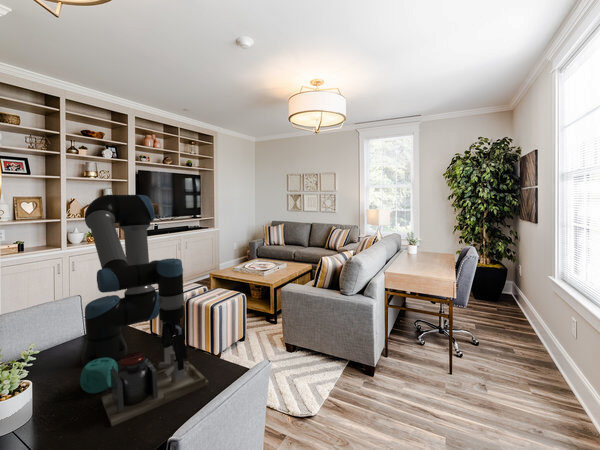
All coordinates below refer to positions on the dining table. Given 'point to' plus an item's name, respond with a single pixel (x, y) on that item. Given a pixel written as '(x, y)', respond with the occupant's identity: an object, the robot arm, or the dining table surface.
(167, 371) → the pipe connector
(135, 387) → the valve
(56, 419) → the dining table surface
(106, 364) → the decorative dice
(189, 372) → the jig
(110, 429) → the dining table surface
